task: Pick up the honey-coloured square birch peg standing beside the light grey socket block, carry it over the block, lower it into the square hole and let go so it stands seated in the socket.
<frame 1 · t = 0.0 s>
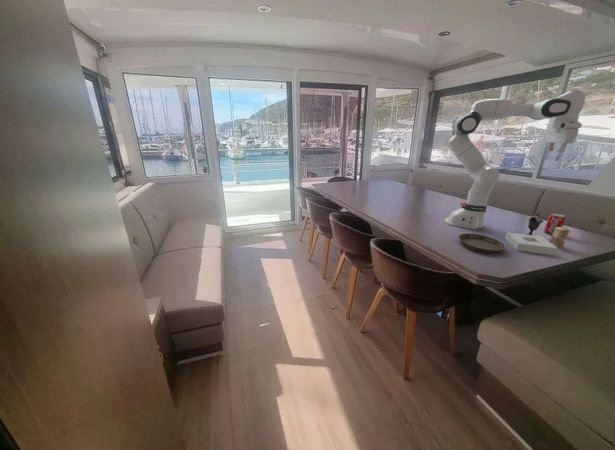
hand: (554, 151, 136), 48 cm above the table, tool pointing down, fingers open, 8 cm apart
socket block: (528, 246, 132), on the table
sundae: (529, 235, 146), on the table
plant saucer: (479, 246, 132), on the table
soda can: (550, 233, 150), on the table
birch peg: (555, 245, 133), on the table
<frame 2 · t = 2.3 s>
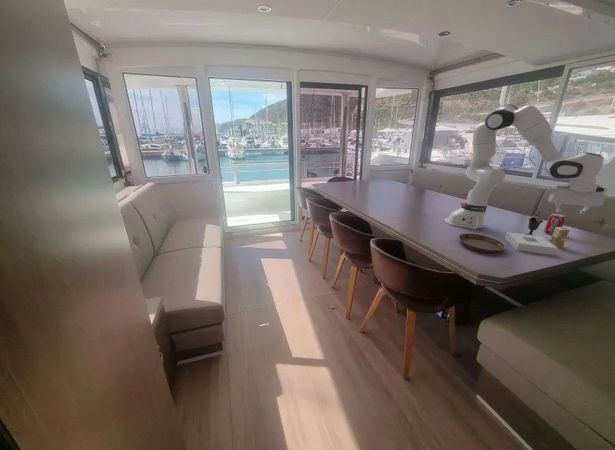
hand: (569, 212, 127), 19 cm above the table, tool pointing down, fingers open, 8 cm apart
nothing on the table moved.
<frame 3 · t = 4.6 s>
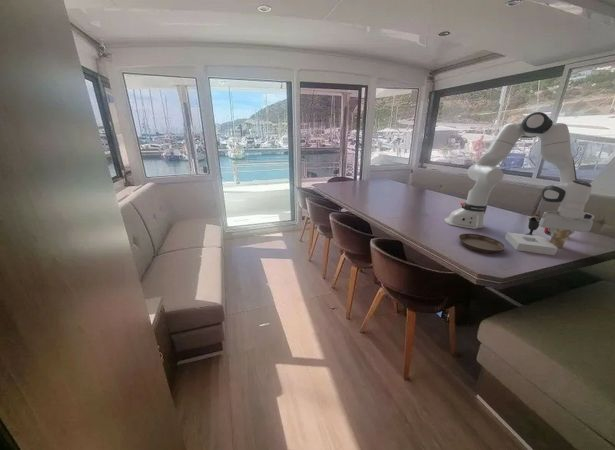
hand: (559, 236, 132), 5 cm above the table, tool pointing down, fingers closed on birch peg, 4 cm apart
birch peg: (555, 245, 133), on the table, touching gripper
everything else where it was.
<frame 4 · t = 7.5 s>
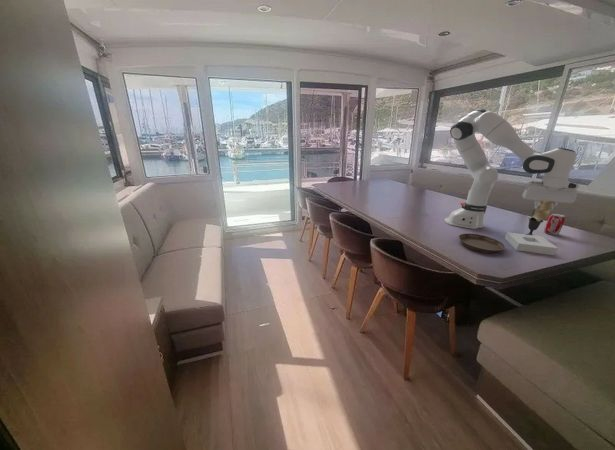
hand: (543, 209, 125), 21 cm above the table, tool pointing down, fingers closed on birch peg, 4 cm apart
birch peg: (539, 218, 127), point 16 cm above the table, touching gripper
everything else where it was.
when the fingers open (7 cm above the table, at t = 10.5 s): birch peg drops 1 cm, resting in socket block.
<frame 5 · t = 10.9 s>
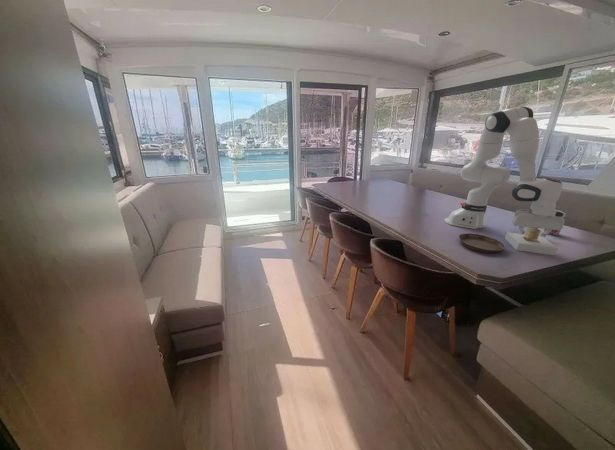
hand: (532, 235, 130), 7 cm above the table, tool pointing down, fingers open, 8 cm apart
birch peg: (527, 246, 132), resting in socket block
everything else where it was.
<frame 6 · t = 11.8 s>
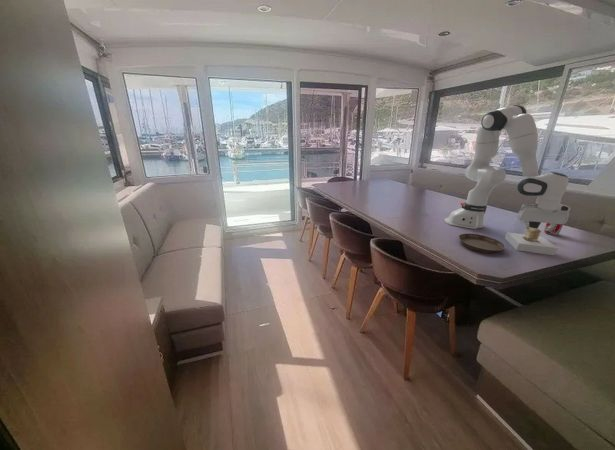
hand: (536, 229, 130), 9 cm above the table, tool pointing down, fingers open, 8 cm apart
nothing on the table moved.
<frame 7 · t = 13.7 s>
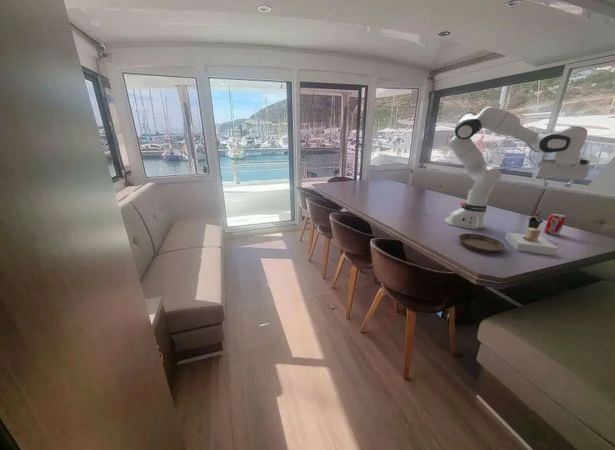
hand: (555, 186, 131), 31 cm above the table, tool pointing down, fingers open, 8 cm apart
nothing on the table moved.
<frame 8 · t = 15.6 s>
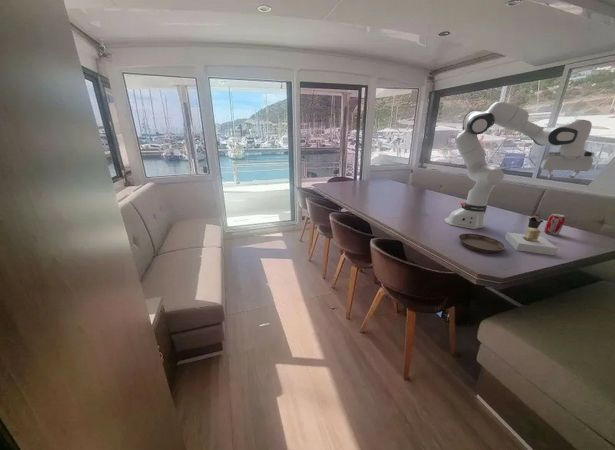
hand: (560, 178, 136), 34 cm above the table, tool pointing down, fingers open, 8 cm apart
nothing on the table moved.
at the end: birch peg 0.2 cm off-centre on the socket block, point 0.0 cm above the socket block's base; birch peg tilted 0°; the gripper is holding nothing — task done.
